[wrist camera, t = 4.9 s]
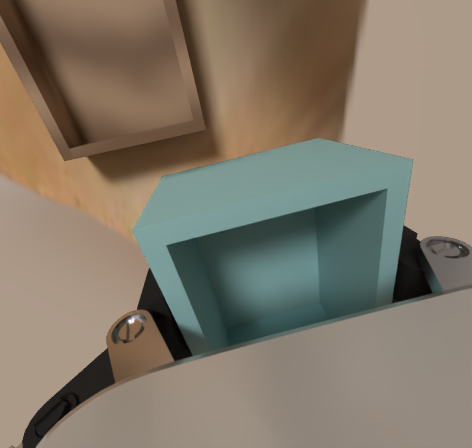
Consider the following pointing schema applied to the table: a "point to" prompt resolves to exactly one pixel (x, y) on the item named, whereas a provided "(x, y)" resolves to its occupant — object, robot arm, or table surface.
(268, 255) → the teal crate
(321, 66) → the table surface
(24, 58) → the walnut crate
